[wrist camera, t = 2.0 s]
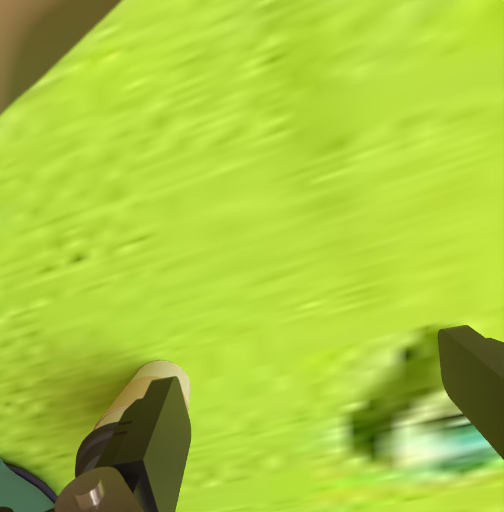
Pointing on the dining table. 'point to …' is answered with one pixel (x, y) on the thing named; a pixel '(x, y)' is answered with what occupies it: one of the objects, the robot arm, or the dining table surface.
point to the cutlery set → (24, 491)
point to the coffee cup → (134, 390)
